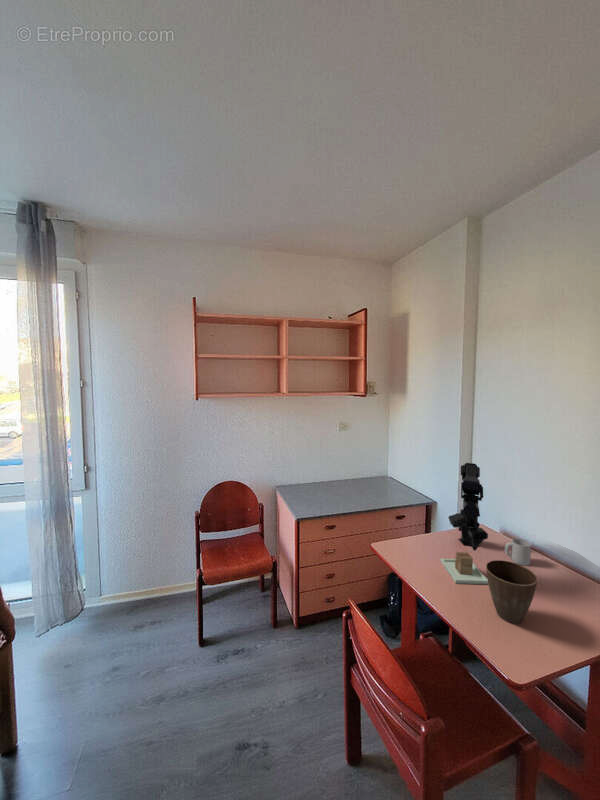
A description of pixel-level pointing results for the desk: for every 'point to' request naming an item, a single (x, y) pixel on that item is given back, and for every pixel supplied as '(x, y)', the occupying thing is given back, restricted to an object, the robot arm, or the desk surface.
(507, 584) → the plant pot
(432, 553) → the desk surface
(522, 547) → the cup
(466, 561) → the walnut block
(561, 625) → the desk surface
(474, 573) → the tray
